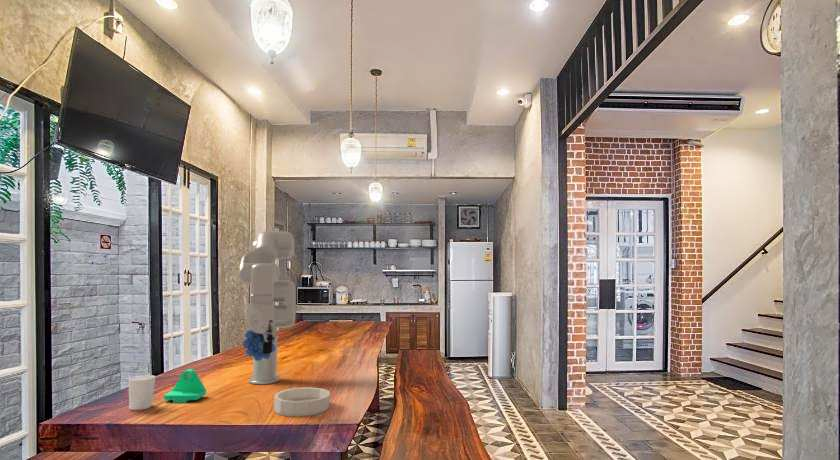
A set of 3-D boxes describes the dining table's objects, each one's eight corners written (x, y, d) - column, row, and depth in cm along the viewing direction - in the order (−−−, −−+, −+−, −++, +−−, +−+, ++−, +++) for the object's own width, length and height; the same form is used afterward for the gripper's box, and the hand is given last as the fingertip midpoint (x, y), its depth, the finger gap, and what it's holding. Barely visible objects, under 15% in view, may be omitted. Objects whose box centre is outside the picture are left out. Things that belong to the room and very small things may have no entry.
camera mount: (162, 403, 170) (164, 373, 170) (173, 397, 177) (174, 368, 178) (196, 403, 170) (198, 373, 171) (205, 397, 178) (207, 369, 178)
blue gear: (246, 365, 157) (247, 328, 158) (239, 361, 162) (240, 326, 163) (280, 360, 165) (281, 325, 165) (271, 357, 170) (273, 323, 170)
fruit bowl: (276, 402, 171) (276, 388, 172) (328, 399, 175) (328, 386, 176) (272, 418, 153) (272, 403, 154) (330, 414, 157) (330, 400, 158)
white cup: (134, 412, 158) (136, 381, 159) (122, 408, 163) (124, 378, 163) (158, 406, 165) (159, 376, 166) (146, 402, 169) (147, 374, 170)
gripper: (236, 299, 166) (234, 351, 165) (270, 301, 157) (268, 357, 156) (254, 297, 173) (252, 347, 171) (287, 300, 163) (286, 353, 162)
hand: (260, 351), depth 164 cm, fingers closed on blue gear, 6 cm apart
